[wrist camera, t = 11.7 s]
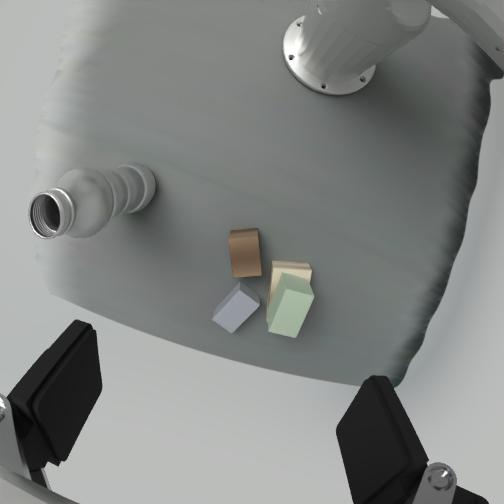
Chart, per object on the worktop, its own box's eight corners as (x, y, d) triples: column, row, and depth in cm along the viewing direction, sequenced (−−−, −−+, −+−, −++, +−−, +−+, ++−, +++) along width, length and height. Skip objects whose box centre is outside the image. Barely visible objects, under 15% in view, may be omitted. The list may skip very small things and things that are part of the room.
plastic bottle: (110, 171, 36) (8, 191, 17) (153, 154, 35) (64, 158, 16) (123, 215, 38) (31, 266, 19) (166, 201, 37) (89, 245, 18)
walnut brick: (230, 230, 38) (228, 238, 35) (257, 227, 38) (257, 235, 35) (235, 266, 40) (233, 277, 36) (260, 263, 40) (261, 275, 36)
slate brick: (240, 280, 41) (239, 289, 38) (259, 295, 42) (259, 305, 39) (214, 308, 42) (211, 319, 39) (232, 322, 43) (231, 333, 40)
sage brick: (281, 271, 37) (285, 288, 33) (307, 278, 38) (314, 296, 33) (267, 311, 39) (268, 331, 34) (291, 317, 39) (295, 338, 35)
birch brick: (271, 259, 40) (273, 267, 37) (307, 262, 40) (311, 270, 37) (265, 311, 43) (266, 321, 40) (299, 312, 43) (302, 323, 40)
